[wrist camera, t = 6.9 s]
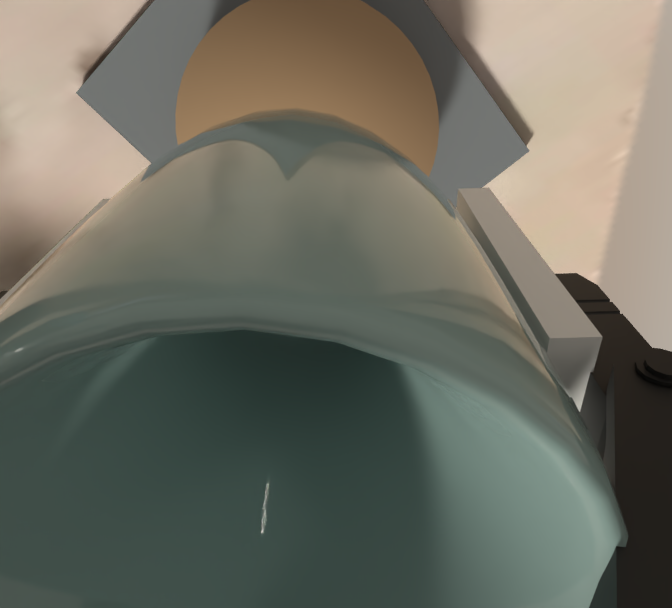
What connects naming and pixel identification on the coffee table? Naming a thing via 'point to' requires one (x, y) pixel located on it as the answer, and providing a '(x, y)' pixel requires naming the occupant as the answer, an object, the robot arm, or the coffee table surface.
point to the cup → (288, 397)
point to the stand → (306, 79)
